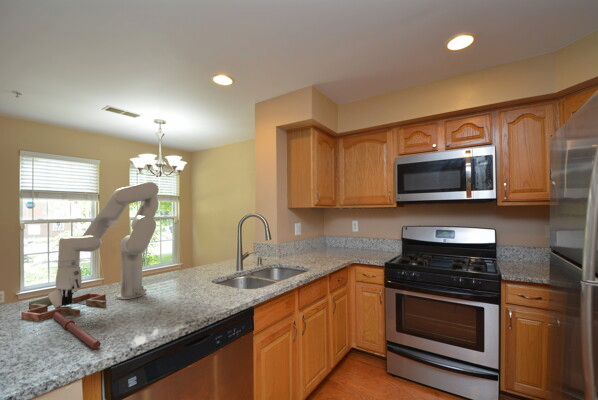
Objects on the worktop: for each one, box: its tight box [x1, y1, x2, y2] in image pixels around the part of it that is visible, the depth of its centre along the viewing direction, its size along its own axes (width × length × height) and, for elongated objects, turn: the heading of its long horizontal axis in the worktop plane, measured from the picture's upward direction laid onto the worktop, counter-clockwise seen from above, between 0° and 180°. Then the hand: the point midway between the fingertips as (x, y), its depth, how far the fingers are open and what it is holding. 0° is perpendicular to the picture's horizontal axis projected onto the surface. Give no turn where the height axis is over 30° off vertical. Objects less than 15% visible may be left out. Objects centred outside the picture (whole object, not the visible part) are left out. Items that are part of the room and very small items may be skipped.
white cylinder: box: [46, 289, 63, 309], centre depth 122 cm, size 7×7×7 cm
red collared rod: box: [52, 312, 102, 350], centre depth 96 cm, size 45×3×3 cm, turn 55°
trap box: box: [20, 292, 107, 322], centre depth 121 cm, size 32×27×4 cm
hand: (66, 304), depth 120 cm, fingers closed
